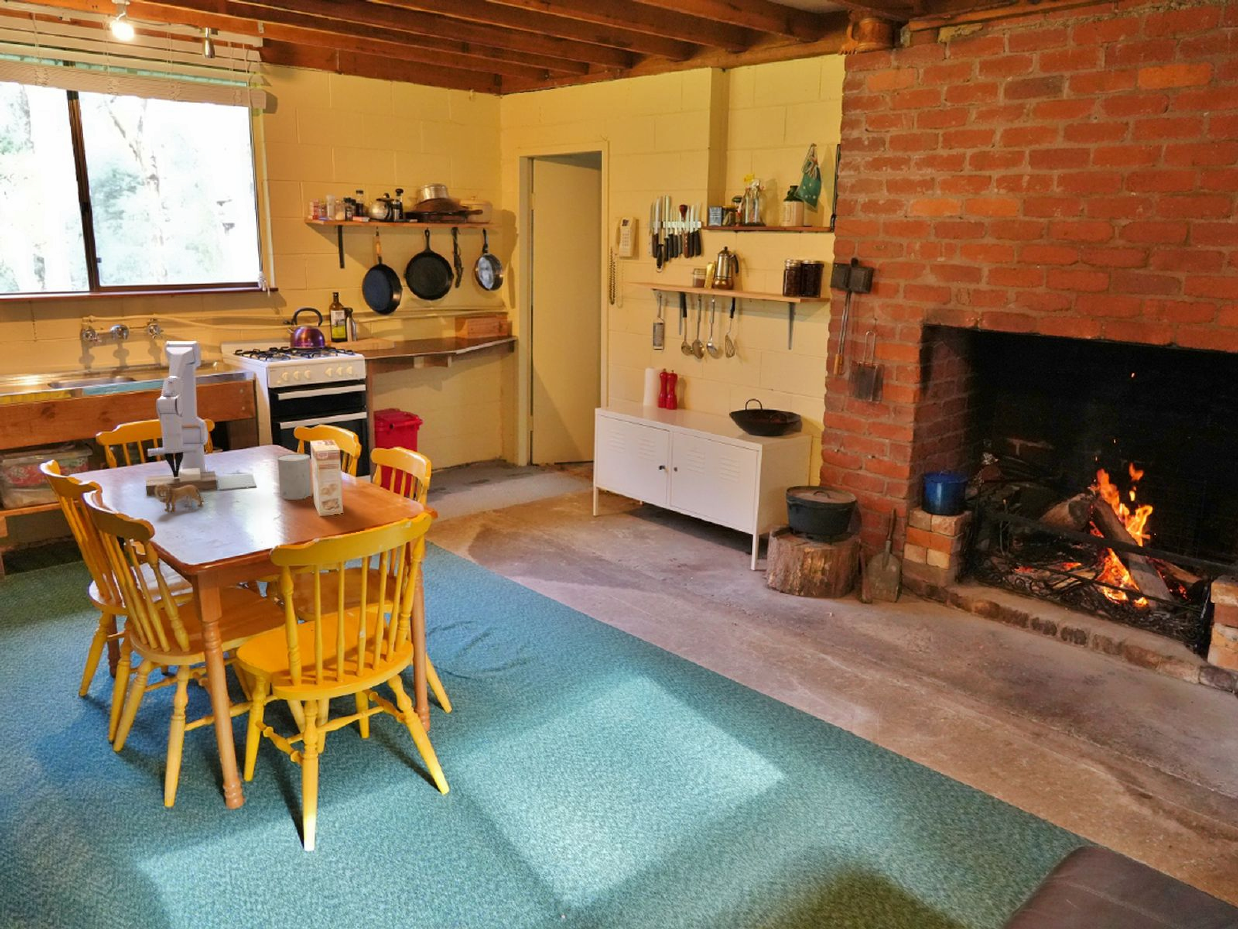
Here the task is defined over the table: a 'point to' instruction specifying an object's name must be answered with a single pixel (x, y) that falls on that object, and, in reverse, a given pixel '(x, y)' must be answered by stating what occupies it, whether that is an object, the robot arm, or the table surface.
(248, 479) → the mat
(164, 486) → the lion figurine
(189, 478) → the tile
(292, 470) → the grey cylinder
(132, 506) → the table surface
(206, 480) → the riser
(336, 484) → the coffeecake box
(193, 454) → the robot arm
